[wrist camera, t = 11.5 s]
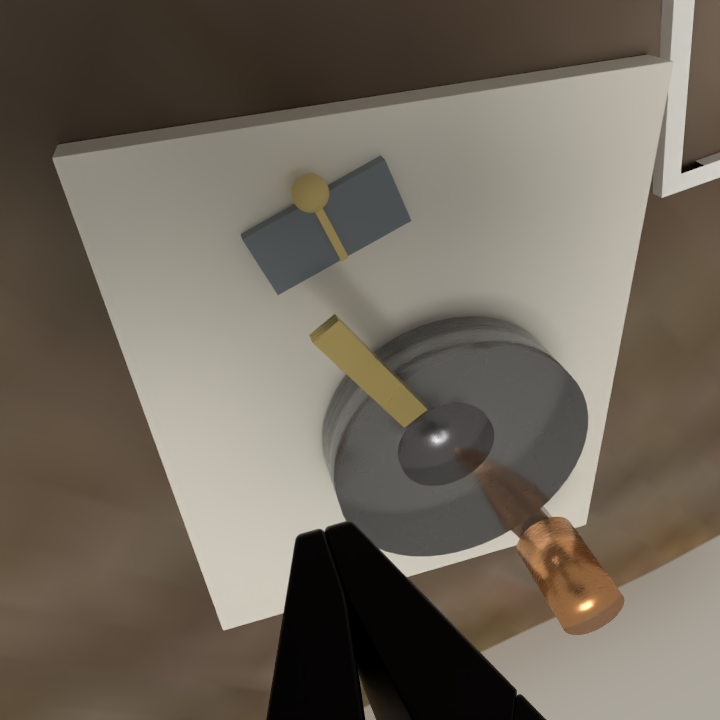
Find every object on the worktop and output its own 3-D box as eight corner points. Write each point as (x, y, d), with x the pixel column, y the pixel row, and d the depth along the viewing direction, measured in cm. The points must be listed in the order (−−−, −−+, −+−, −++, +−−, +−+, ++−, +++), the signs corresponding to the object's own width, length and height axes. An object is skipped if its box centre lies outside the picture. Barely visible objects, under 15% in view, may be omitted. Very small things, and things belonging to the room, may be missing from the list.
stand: (57, 144, 16) (45, 173, 14) (647, 54, 19) (703, 68, 17) (220, 606, 28) (225, 656, 26) (572, 506, 31) (600, 544, 29)
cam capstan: (194, 381, 19) (208, 514, 15) (426, 184, 18) (517, 267, 13) (451, 572, 28) (506, 690, 24) (619, 452, 27) (711, 554, 22)
